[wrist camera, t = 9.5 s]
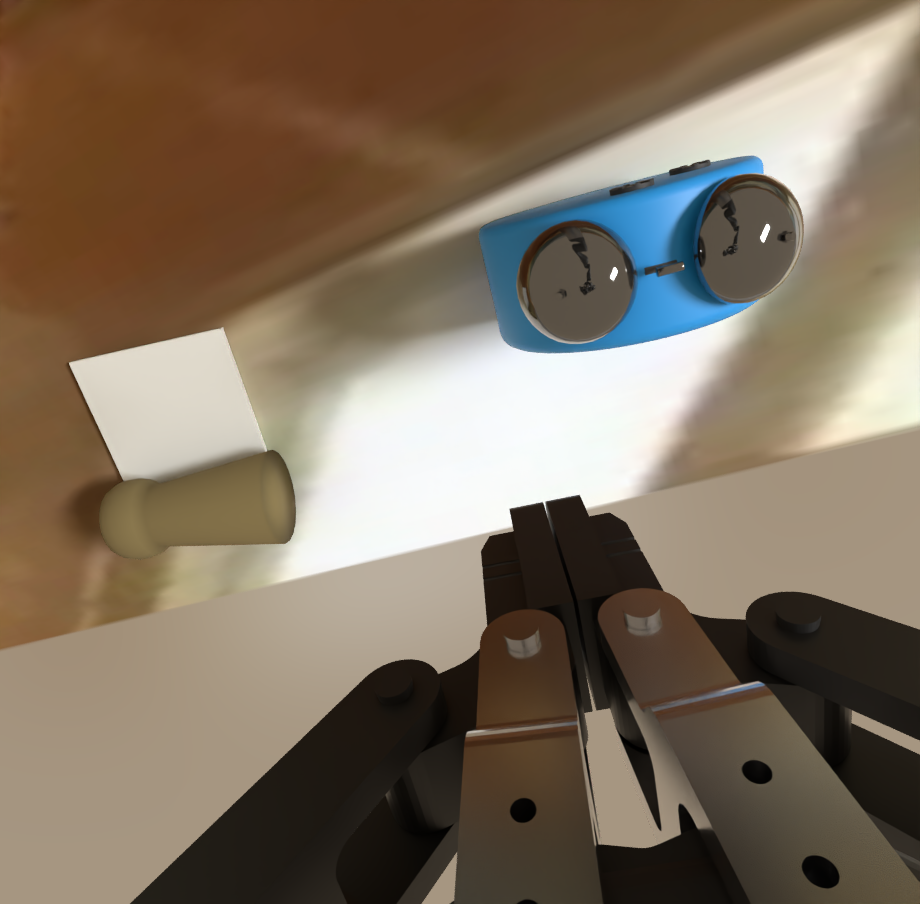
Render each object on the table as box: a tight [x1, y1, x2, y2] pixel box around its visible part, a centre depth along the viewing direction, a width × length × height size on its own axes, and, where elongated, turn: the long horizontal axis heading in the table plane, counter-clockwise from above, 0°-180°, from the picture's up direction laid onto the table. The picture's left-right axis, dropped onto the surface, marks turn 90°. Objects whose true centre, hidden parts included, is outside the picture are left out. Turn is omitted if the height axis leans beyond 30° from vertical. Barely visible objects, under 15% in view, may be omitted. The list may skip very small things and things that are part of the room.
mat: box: [69, 328, 267, 483], centre depth 40 cm, size 12×10×1 cm
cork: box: [99, 450, 296, 560], centre depth 39 cm, size 6×6×11 cm
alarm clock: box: [479, 156, 804, 353], centre depth 30 cm, size 13×6×15 cm, turn 104°
